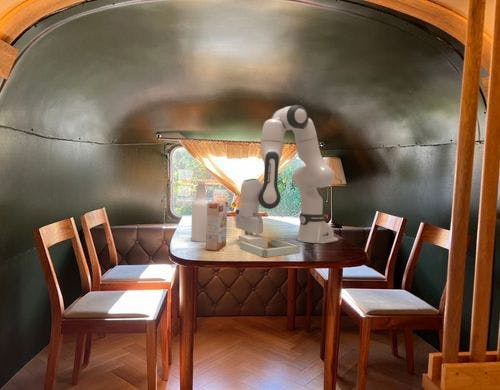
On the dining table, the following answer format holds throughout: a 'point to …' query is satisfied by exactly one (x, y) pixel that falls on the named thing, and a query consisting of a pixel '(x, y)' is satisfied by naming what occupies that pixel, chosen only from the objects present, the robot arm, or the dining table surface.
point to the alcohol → (199, 214)
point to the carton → (254, 240)
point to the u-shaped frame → (282, 250)
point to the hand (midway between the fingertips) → (248, 240)
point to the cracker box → (216, 225)
